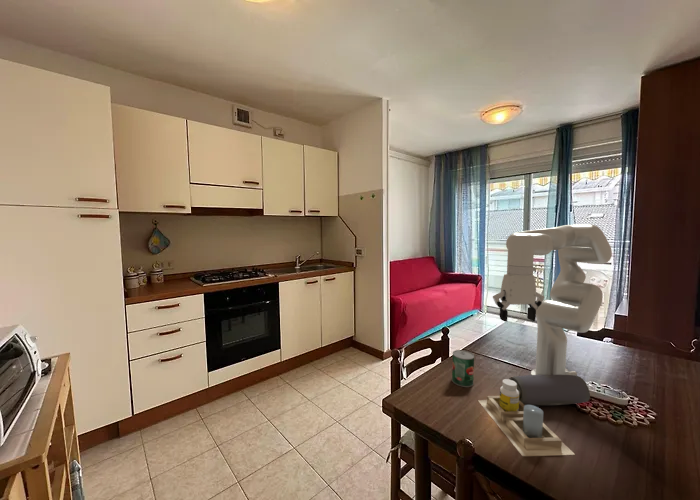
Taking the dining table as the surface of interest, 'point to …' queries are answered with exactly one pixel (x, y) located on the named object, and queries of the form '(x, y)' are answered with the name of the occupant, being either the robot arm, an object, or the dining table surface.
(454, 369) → the canned tomato
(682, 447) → the dining table surface
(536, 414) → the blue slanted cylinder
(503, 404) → the supplement bottle
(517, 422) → the cruet stand
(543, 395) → the bluetooth speaker
